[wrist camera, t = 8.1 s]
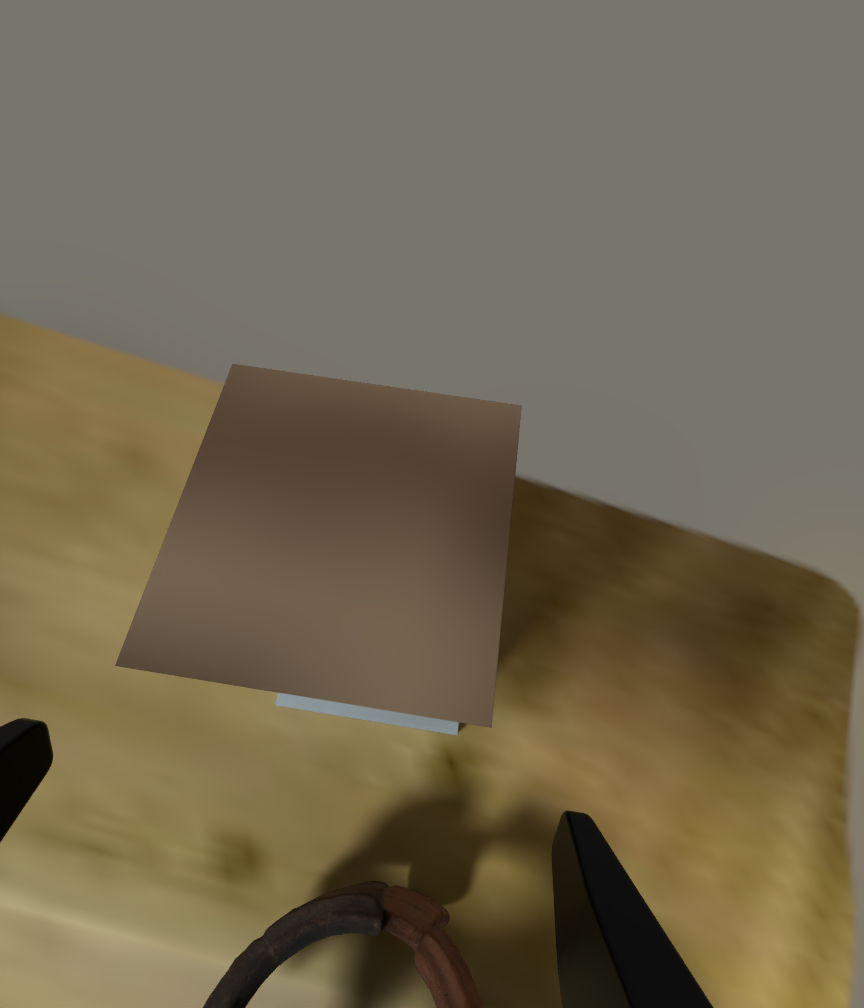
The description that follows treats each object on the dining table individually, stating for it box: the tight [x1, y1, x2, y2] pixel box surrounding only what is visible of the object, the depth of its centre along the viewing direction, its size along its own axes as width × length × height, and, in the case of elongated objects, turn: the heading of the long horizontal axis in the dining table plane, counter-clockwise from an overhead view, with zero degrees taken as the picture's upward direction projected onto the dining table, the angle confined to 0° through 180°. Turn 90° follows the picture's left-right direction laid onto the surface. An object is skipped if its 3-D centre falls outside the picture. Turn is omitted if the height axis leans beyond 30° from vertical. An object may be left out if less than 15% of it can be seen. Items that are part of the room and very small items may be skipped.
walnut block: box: [115, 364, 521, 728], centre depth 14 cm, size 6×6×12 cm
